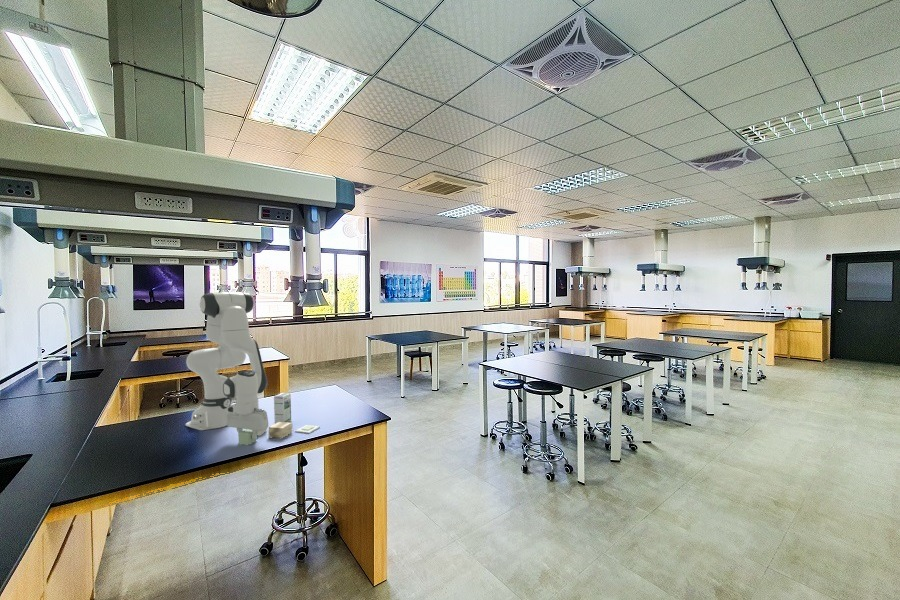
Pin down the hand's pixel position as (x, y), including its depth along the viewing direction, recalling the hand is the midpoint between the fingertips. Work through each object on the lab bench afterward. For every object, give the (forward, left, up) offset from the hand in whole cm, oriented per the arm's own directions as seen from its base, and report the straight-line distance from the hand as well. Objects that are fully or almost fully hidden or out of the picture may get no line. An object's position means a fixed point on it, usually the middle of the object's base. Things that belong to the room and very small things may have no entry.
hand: (247, 438), depth 161 cm
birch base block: (+8, +11, -2) cm, 14 cm away
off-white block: (-4, +10, -2) cm, 11 cm away
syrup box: (-3, +25, -2) cm, 25 cm away
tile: (+16, +20, -2) cm, 26 cm away
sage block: (0, 0, -2) cm, 2 cm away
